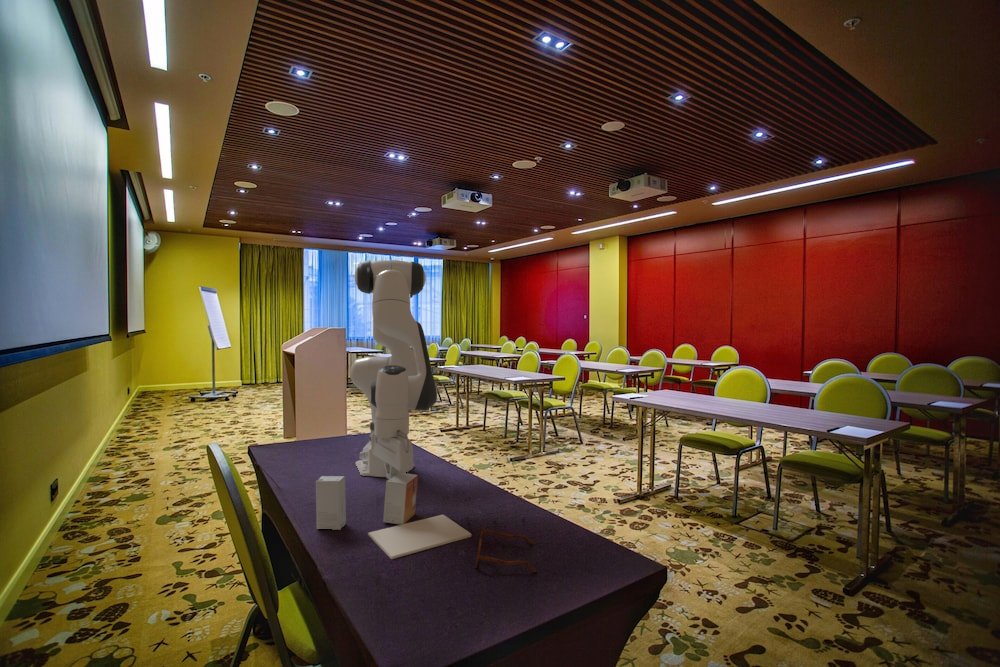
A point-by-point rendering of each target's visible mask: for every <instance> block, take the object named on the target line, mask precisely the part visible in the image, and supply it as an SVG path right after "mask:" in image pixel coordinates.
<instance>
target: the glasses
mask: <svg viewBox="0 0 1000 667" xmlns="http://www.w3.org/2000/svg"><path fill="white" fill-rule="evenodd" d="M484 533H485V534H489V535H493V536H498V537H503V538H507V539H516V538H517V539H523V540H524V541H526V542H527V543H529V544H530V545H531V544H535V545H536V543H535V542H534V541H532V540H531V539H529V538H528V537H527V536H526V535H521V534H508V533H507V534H506V533H502V532H499V531H494V530H489V529H485V526H483V525H482V526H481V531H480V536H479V539H478V545H477V554H476V558H475V564H474V568H475V569H477V568H478V564H479V560H482V561H483V560H484V561H489V562H493V563H497V564H502V565H506V566H513V565H525V566H526V567H527V568H528V569H529V570H530V571H531V572H532V571H536V570H537V569H536V568H534V567H533V566H532V565H531V564H530V563H529V562H528V561H524V560H510V561H507V560H504V559H500V558H495V557H490V556H486V555H482V554H481V549H482V541H483V535H484Z"/></svg>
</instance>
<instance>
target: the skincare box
mask: <svg viewBox="0 0 1000 667" xmlns="http://www.w3.org/2000/svg"><path fill="white" fill-rule="evenodd" d="M346 507H347V506H346V476H344V475H343V476H341V475H338V476H337V475H335V476H334V475H328V476H327V475H321V476H320V477H319V478H318V479H317V480H316V481H315V511H316V512H315V516H316V519H315V520H316V521H315V522H316V530H318V529H332V531H335V530H336V531H337V530H338V531H341V530H342V529H343V528H344V526H345V525H346V524H347V521H346V520H347V518H346V517H347V516H346V515H347V511H346V509H347V508H346ZM342 527H343V528H342ZM341 528H342V529H341Z"/></svg>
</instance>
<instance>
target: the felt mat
mask: <svg viewBox="0 0 1000 667" xmlns="http://www.w3.org/2000/svg"><path fill="white" fill-rule="evenodd" d="M367 536H368V537H369V538H370V539H371V541H373V542H374V543H375V544H376V545H377V546H378V547H379V548H380V549H381V550H382V551H383V552H384V554H386V555H387V557H388V558H389V559H390V560H394V559H398V558H401V557H406V556H408V555H411V554H415V553H419V552H422V551H423V552H424V551H425V550H430V549H433V548H435V547H440V546H444V545H446V544H447V545H448V544H450V543H454V542H457V541H461V540H464V539H468V538H471V537H472V533H471V532H470V531H468V530H467V529H465V528H463V527H462V526H460V525H459V524H458V523H456V522H455V521H453V520H452V519H450V517H448V516H446V515H445V514H439V515H434V516H432V517H428V518H423V519H419V520H415V521H412V522H411V521H410V522H406V523H405V524H402V525H399V524H397V525H394V526H391V527H386V528H381V529H377V530H374V531H370V532H367Z"/></svg>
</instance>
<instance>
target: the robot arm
mask: <svg viewBox="0 0 1000 667" xmlns="http://www.w3.org/2000/svg"><path fill="white" fill-rule="evenodd" d="M426 276H427V275H426V271H425V269H424V266H423V265H422V264H421V263H419V262H416V261H410V262H409V261H403V260H396V259H391V260H388V259H387V260H369V259H368V260H363V261H360V262H359V263H357V267H356V269H355V272H354V282H355V285H356V287H357V289H358V291H360V292H361V293H365V294H369V295H370V294H372V304H371V305H372V306H371V307H372V308H371V310H372V336H373V340H374V341H375V342H376V344H378V345H380V346H382V347H383V348H386V349H388V350H389V351H390V354H391V356H366V357H361V358H357V359H355V361H353V363H352V364H351V367H350V370H349V376H350V380H351V382H352V384H353V385H354V386H355V387H356V388H358V389H359V390H360V391H361V392H362V393H363V394H364V396H365V398H366V399H367V400H368V404H369V406H370V412H371V421H370V423H369V430H370V432H369V441H367V443H366V445H365V446H364V447H363V448H362V451H360V452H359V455H358V456H359V459H360V460H357V461H355V467H356V466H357V467H356V469H357V468H358V469H357V470H359V471H358V472H360V473H359V474H360V476H361V475H362V476H363V477H379V478H386V479H387V480H389V479H391V478H392V477H394V476H395V475H396V474H398V473H399V472H401V473H406V472H407V473H409V472H410V471H412V470H413V468H414V467H415V463H414V447H413V442H412V440H410V439H409V436H408V435H409V433H410V412H409V410H415V411H426V412H427V411H428V410H430V409H431V408H432V407H433V406H434V405H435V404H436V403H437V400H438V387H437V383H436V381H435V376H434V374H433V369H432V365H431V359H430V354H429V349H428V346H427V340H426V337H425V336H426V335H425V332H424V328H423V326H422V324H421V322H419V321H416V319H415V317H414V316H413V313H412V311H411V299H412V298H413V296H415V295H418V294H419V293H421V292H422V291H423V290H424V287H425V284H426V280H427V279H426V278H427V277H426ZM413 466H414V467H413ZM362 476H361V477H362Z"/></svg>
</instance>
